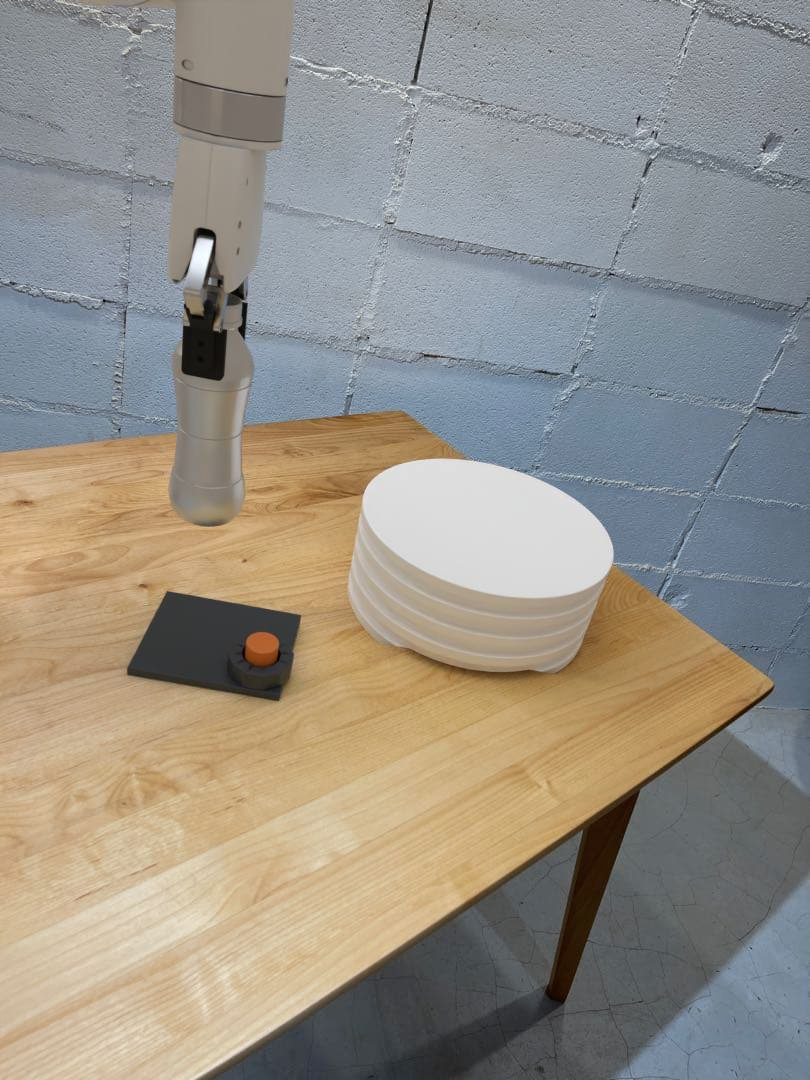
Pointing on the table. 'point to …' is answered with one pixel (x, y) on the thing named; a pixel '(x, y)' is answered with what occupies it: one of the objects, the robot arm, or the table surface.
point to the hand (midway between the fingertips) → (214, 358)
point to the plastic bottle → (212, 432)
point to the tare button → (261, 649)
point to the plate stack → (477, 566)
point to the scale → (214, 646)
